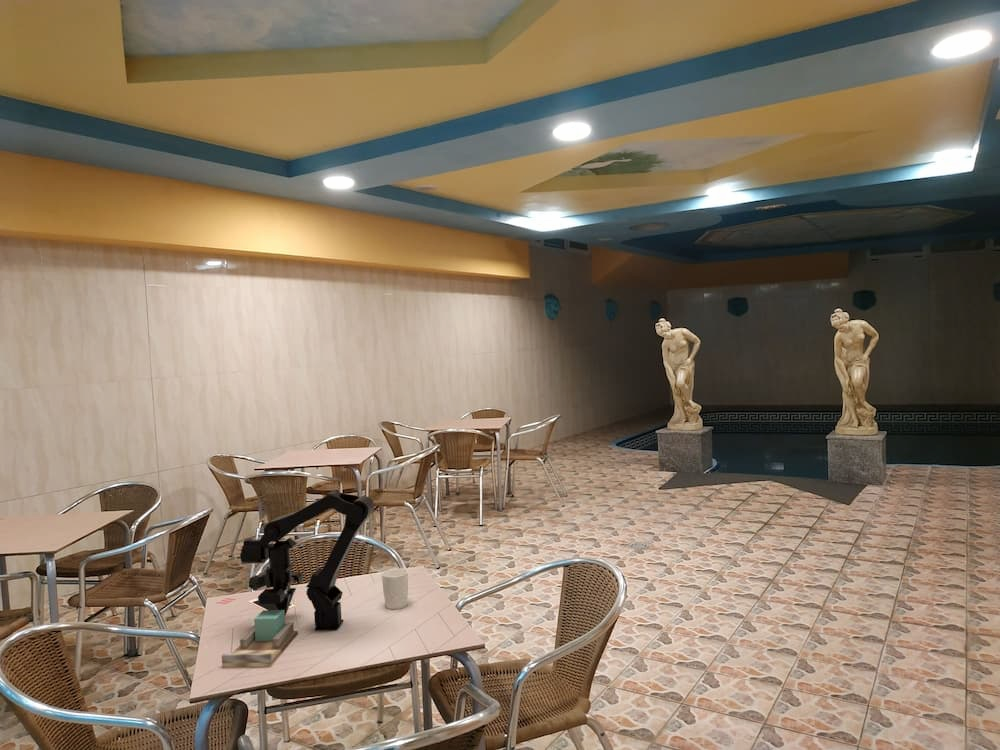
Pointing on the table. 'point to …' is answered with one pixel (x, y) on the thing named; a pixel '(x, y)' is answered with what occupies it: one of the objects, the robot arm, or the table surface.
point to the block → (268, 624)
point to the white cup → (395, 588)
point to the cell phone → (267, 605)
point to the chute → (260, 649)
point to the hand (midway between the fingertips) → (283, 616)
